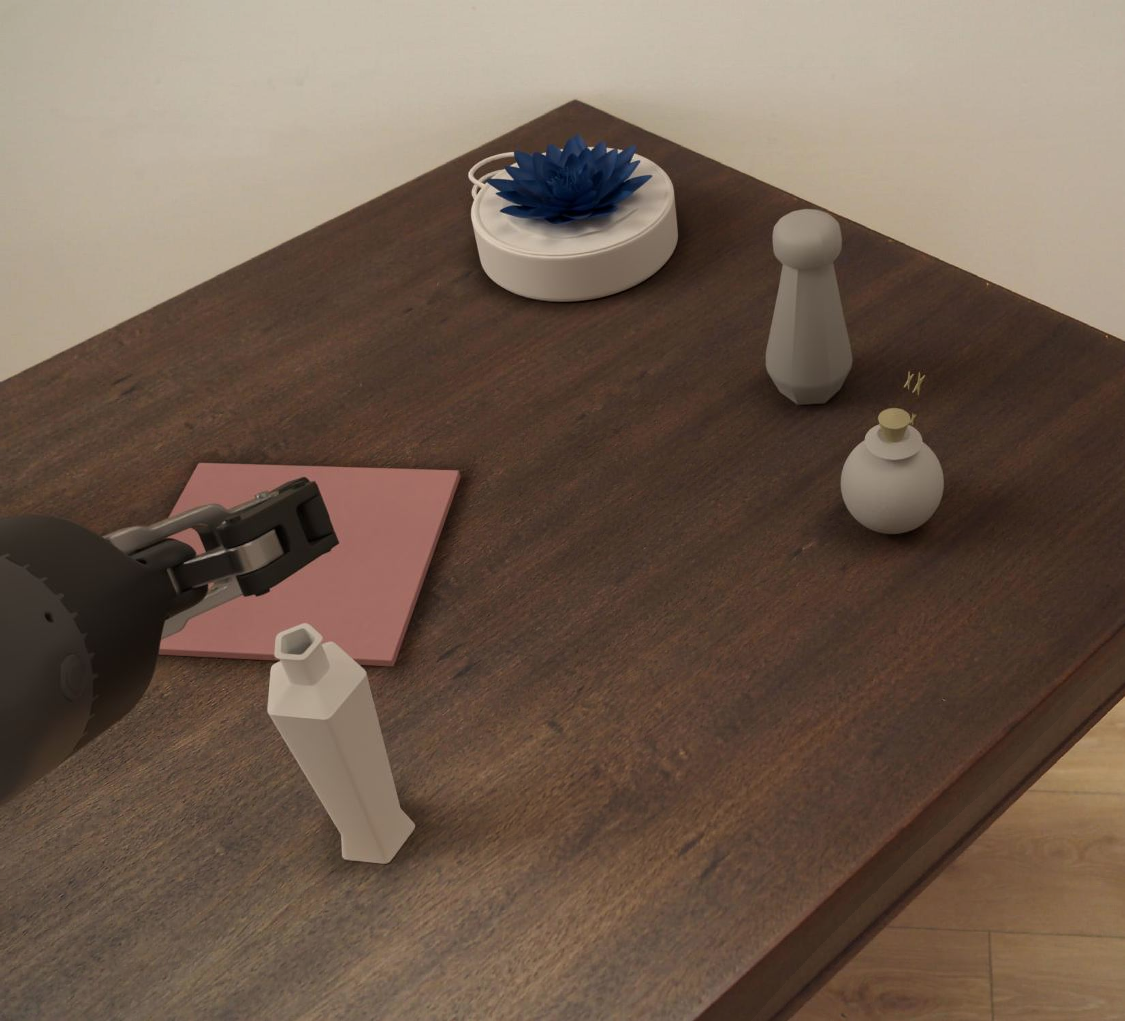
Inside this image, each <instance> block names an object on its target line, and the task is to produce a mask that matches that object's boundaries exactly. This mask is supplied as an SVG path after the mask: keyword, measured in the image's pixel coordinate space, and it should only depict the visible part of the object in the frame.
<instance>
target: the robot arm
mask: <svg viewBox="0 0 1125 1021" xmlns="http://www.w3.org/2000/svg"><path fill="white" fill-rule="evenodd" d="M254 496H255V497H256V498H254V499H252V500H249V501H247V502H245V503H242V504H240V505H237V506H235V507H232V508H230V509H225V508H224V507H223V506H222V505H220V504H208V505H203V506H198V507H195V508H192V509H190V510H187V511H185V512H182V513H180V514H177V515H175V516H172V517H170V518H169V517H168V518H167V517H166V518H164V519H161V520H160V521H157V522H155V523H153V524H152V523H151V524H150V525H147V526H145V525H134V526H129V527H123V528H120V529H118V530H115V531H113V532H110V533H106V534H105V535H101V534H100V533H97V532H96V531H95V530H94V529H92V528H89V527H88V526H85V525H83V524H80V523H79V522H76V521H73V520H71V519H68V518H64V517H61V516H60V517H59V516H57V515H56V516H55V515H50V514H39V513H25V514H15V515H10V516H6V517H2V518H0V809H1V808H3V807H4V806H5V805H7V804H8V803H10V802H11V801H13V800H14V799H16V798H18V797H19V795H21V794H22V793H24V792H25V791H26V790H28V789H29V788H31V787H32V786H33V785H34V784H36V783H37V782H39V781H40V780H42V778H44V777H45V776H47V775H48V774H50V773H51V772H52V771H53V770H55V769H56V768H57V767H59V766H60V765H61V764H63V763H64V762H66V761H67V760H68V759H70V758H71V757H72V756H74V755H75V754H76V753H78V752H79V751H80V750H81V749H83V748H85V747H86V746H87V745H89V744H90V743H91V742H92V741H93V740H95V739H96V738H98V737H99V736H101V735H102V734H103V733H105V732H106V731H107V730H109V729H111V727H113V726H114V725H115V724H117V723H118V722H119V721H121V720H122V719H124V717H126V716H127V715H129V713H130V712H131V711H132V710H133V709H134V708H136V706H137V705H138V704H139V702H140V701H141V699H142V698H143V696H144V695H145V693H146V692H147V690H148V688H149V687H150V684H151V682H152V680H153V677H154V674H155V671H156V668H157V665H158V661H159V656H160V655H159V649H160V643H161V640H162V639H165V638H167V637H169V636H171V635H173V634H175V633H178V632H180V631H181V630H182V629H183V628H184V627H185V625H186V623H187V621H188V620H189V619H191V618H193V617H195V616H198V615H200V614H202V613H204V612H206V611H209V610H211V609H213V608H215V607H217V606H220V605H222V604H224V603H226V602H228V601H231V600H233V599H235V598H237V597H239V596H242V595H243V596H244V597H247V596H251V595H255V596H256V597H258V596H261V595H264V594H266V593H268V592H270V588H272V587H274V586H276V585H278V584H279V583H281V582H282V581H284V580H285V579H287V578H288V577H290V576H291V575H293V574H294V573H296V572H297V571H299V570H300V569H302V568H303V567H305V566H306V565H308V564H309V563H311V562H312V561H314V560H315V559H317V558H318V557H320V556H321V555H323V554H325V553H328V552H330V551H331V549H332V548H333V547H335V546H336V545H338V544H339V541H338V538H337V536H336V533H335V531H334V528H333V526H332V523H331V520H330V516H329V513H328V511H327V508H326V506H325V503H324V501H323V498H322V495H321V493H320V490H319V488H318V485H317V484H316V482H315V481H311V482H310V481H309V480H308V479H307V478H306V477H301V478H298V479H295V480H292V481H289V482H287V483H285V484H283V485H281V486H279V487H277V488H276V489H274V490H272V491H270V492H268V490H267V491H264V492H261V493H258V494H256V495H254ZM189 528H192V529H194V530H195V531H196V532H197V533H198V535H199V537H200V539H201V541H202V544H203V546H204V549H205V551H206V552H205V553H202V554H199V555H196V554H197V553H196V551H195V550H194V549H193V548H192V547H191V546H190V545H188V544H186V543H184V542H181V541H179V540H176V539H173V538H167V537H169V536H172V535H174V534H176V533H179V532H181V531H184V530H186V529H189ZM195 555H196V556H195ZM213 582H214V584H213V586H212V587H211V588H210V589H209V590H208V587H209V585H208V584H209V583H213Z"/></svg>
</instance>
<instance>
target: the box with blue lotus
mask: <svg viewBox="0 0 1125 1021" xmlns="http://www.w3.org/2000/svg"><path fill="white" fill-rule="evenodd" d="M606 144H607V143H605V141H600V142H598V143H597V144H596V145H595V146H587V143H586V142H585V140H584V139H583V137H582V136H581V135H579V134H575V135H573V137H570V138H568V139H567V141H566V142H565V144H564V146H563V148H562V149H561V148H559V147H558V146H556V145H555V144H554V143H553V144H552V143H549V144H548V145H547V146H546V151H545V152H542V153H541V152H538V151H534V152H533V153H532V154H529V153H527V152H525V151H520V150H514V151H510V152H503V153H498V154H494V155H492V156H489V157H486V158H484V159H482V160H480V161H479V162H477V163H476V164H474V166H472V167H471V168H470V169H469V171H468V175H467V177H468V179H469V181H470V182H471V183H472V184H473V186H472V189H471V196H472V198H473V201H472V205H471V209H470V217H471V218H470V219H471V223H472V227H473V233H474V237H475V243H476V246H477V252H478V256H479V261H480V264H481V267H482V269H483V271H484V272H485V274H486V276H488V278H489V279H491V280H492V281H493V282H494V283H495V284H497V285H498V286H499V287H501V288H502V289H505V290H506V291H508V292H511V293H513V294H515V295H517V296H521V297H524V298H528V299H531V300H537V301H544V302H557V303H565V302H566V303H569V302H581V301H589V300H595V299H600V298H604V297H609V296H612V295H615V294H618V293H620V292H621V293H622V292H624V291H626V290H628V289H631V288H634V287H635V286H637V285H639V284H641V283H643V282H644V281H646V280H647V279H649V278H650V277H652V276H653V275H654V274H656V273H657V272H658V271H659V270H660V269H661V268H662V267H663V266H664V265H666V263H667V262H668V261H669V260H670V258H671V256H672V255H673V254H674V251H675V249H676V247H677V244H678V239H679V230H678V220H677V209H676V200H675V189H674V185H673V183H672V180H671V178H670V177H669V175H668V174H667V173H666V171H665V170H664V169H663V168H661V167H660V166H659V165H658V164H657V163H656V162H654V161H652V160H650V159H649V158H647V157H644V156H642V155H639V154H637V153H635V152H636V150H637V145H635V144H633V145H630V146H628V147H626V148H624V149H618V148H612V147H607V145H606ZM506 158H514V159H515V162H514V163H513V164H511V165H504V169H498V170H494V171H491V172H489V173H486V174H484V175H483V176H481V177H480V178H479V179H476V177H475V176H474V174H475V172H477V170H478V169H479V168H481V167H482V166H485V165H486V164H488V163H491V162H493V161H497V160H501V159H506ZM484 182H486V183H484ZM479 188H480V190H478V189H479ZM477 192H478V193H477Z"/></svg>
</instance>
